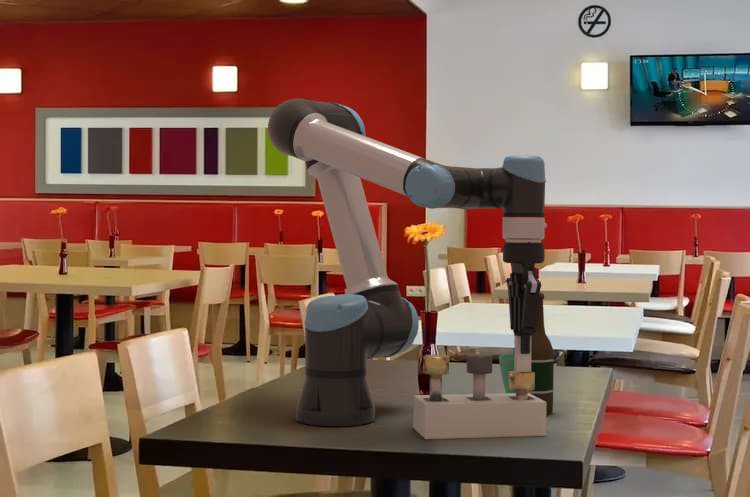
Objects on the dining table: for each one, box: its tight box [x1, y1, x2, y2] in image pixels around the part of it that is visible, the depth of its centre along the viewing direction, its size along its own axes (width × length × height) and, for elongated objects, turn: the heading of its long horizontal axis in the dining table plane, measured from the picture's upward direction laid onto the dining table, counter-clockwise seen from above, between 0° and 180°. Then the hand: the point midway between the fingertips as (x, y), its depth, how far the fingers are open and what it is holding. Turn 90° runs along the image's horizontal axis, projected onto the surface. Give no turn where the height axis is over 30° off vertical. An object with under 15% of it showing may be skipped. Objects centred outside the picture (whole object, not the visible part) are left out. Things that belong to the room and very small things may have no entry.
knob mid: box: [466, 353, 493, 401], centre depth 195 cm, size 5×5×8 cm
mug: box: [498, 353, 515, 394], centre depth 226 cm, size 15×10×10 cm
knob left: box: [422, 354, 450, 402], centre depth 193 cm, size 5×5×8 cm
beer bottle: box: [515, 291, 555, 416], centre depth 214 cm, size 8×8×24 cm
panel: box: [412, 393, 547, 440], centre depth 195 cm, size 22×10×6 cm, turn 100°
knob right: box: [509, 371, 535, 400], centre depth 196 cm, size 5×5×8 cm
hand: (522, 371), depth 196 cm, fingers closed
